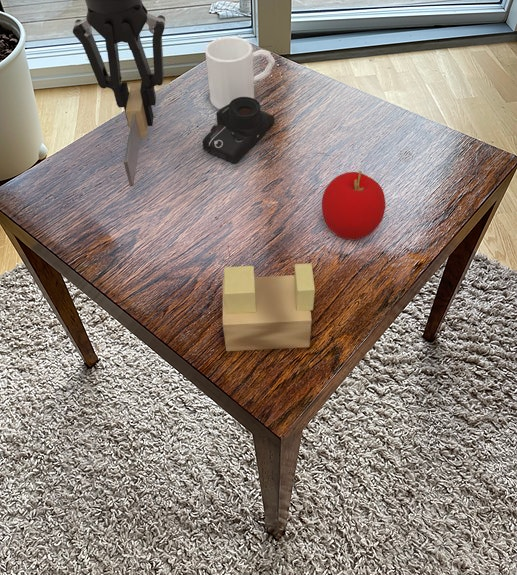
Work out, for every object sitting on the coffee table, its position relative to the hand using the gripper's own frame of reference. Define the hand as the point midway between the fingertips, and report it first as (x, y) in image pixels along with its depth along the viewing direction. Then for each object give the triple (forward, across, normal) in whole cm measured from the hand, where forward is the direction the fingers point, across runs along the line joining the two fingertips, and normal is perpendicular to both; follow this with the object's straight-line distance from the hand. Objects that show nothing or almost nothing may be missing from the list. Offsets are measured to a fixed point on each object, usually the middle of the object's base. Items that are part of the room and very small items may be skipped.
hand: (141, 121), depth 95 cm
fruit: (+5, -32, +22) cm, 39 cm away
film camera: (+5, -16, 0) cm, 17 cm away
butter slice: (-2, -23, +39) cm, 46 cm away
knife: (0, 0, +6) cm, 6 cm away
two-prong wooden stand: (+4, -19, +39) cm, 44 cm away
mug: (+5, -17, -12) cm, 21 cm away
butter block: (-2, -16, +39) cm, 42 cm away
